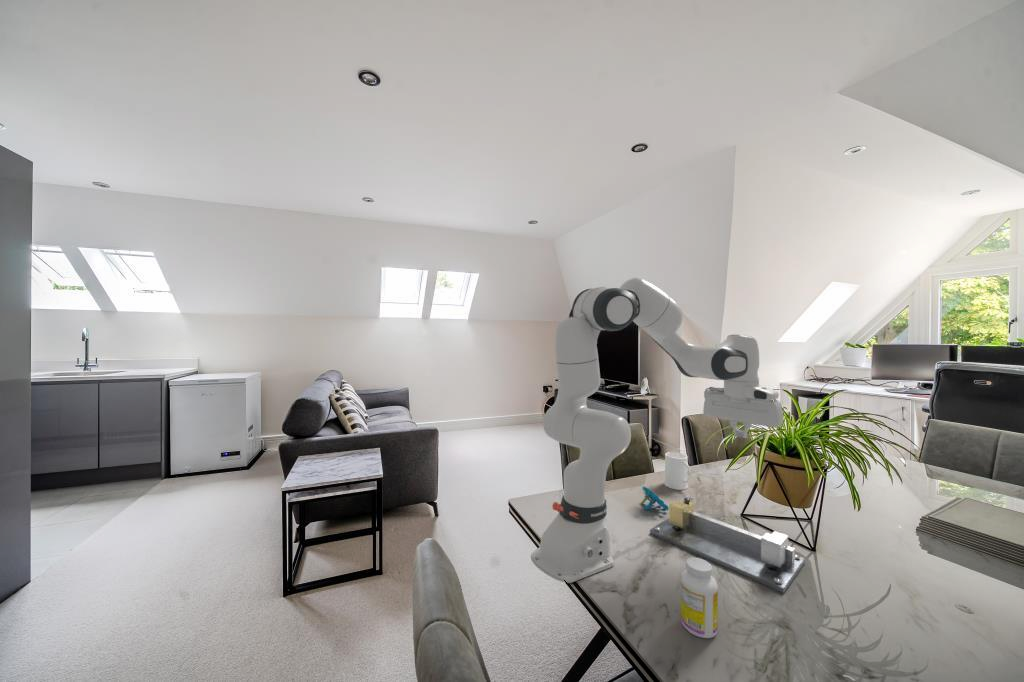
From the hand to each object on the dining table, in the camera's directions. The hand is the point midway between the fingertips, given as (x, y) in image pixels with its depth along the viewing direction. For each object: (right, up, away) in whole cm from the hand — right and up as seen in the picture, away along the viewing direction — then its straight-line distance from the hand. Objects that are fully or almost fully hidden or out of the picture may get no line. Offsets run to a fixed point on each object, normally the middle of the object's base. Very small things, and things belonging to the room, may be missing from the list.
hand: (740, 436), depth 109 cm
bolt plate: (-9, -29, -6) cm, 31 cm away
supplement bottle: (-30, -30, -34) cm, 54 cm away
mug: (-3, -29, +35) cm, 45 cm away
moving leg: (-16, -27, +3) cm, 32 cm away
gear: (-19, -29, +17) cm, 39 cm away
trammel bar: (-9, -28, -6) cm, 30 cm away
